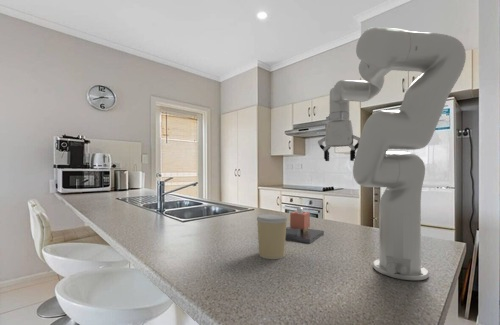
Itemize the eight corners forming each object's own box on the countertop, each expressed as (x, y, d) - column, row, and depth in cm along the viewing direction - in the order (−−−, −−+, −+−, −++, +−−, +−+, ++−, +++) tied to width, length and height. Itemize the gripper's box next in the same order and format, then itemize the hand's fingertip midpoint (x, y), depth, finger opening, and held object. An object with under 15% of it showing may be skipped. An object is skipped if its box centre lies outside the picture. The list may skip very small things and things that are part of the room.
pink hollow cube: (304, 229, 101) (304, 214, 101) (290, 227, 104) (290, 212, 105) (309, 227, 106) (309, 212, 106) (296, 225, 109) (296, 211, 110)
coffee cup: (286, 250, 84) (286, 214, 84) (287, 261, 75) (287, 219, 75) (257, 249, 85) (258, 213, 85) (255, 259, 76) (255, 218, 76)
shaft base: (310, 243, 93) (310, 212, 93) (277, 238, 100) (278, 209, 100) (323, 234, 106) (323, 207, 106) (294, 230, 113) (294, 205, 114)
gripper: (315, 118, 105) (315, 160, 104) (360, 114, 95) (360, 160, 95) (320, 121, 111) (320, 161, 111) (364, 117, 102) (364, 161, 101)
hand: (339, 160), depth 103 cm, fingers open, 9 cm apart
